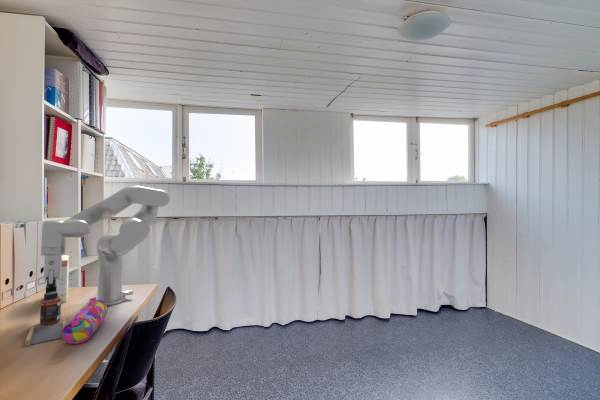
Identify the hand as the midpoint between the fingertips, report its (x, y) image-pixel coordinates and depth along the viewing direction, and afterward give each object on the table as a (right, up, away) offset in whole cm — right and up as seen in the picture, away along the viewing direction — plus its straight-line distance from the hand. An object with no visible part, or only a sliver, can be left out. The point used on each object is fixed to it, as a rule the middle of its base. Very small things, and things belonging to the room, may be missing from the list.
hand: (50, 296), depth 115 cm
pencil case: (+24, -9, -13) cm, 29 cm away
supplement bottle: (+5, -8, -6) cm, 11 cm away
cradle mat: (+12, -8, -15) cm, 21 cm away
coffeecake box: (-14, -8, +20) cm, 26 cm away
